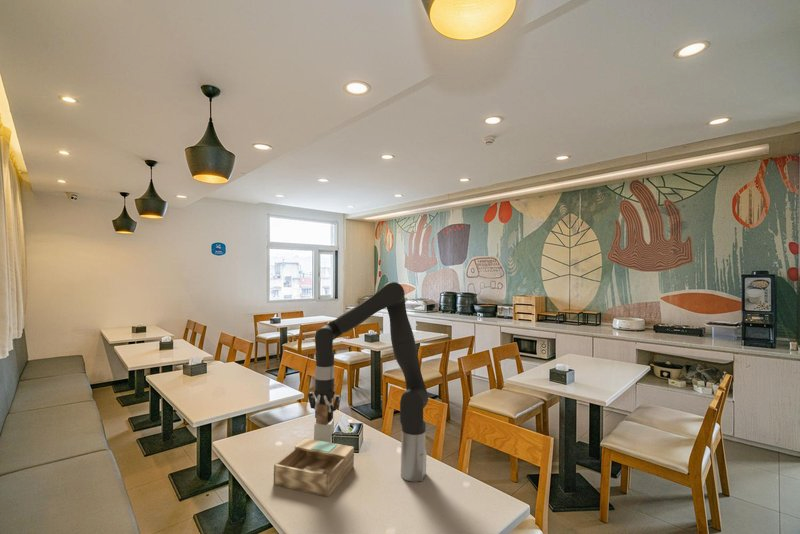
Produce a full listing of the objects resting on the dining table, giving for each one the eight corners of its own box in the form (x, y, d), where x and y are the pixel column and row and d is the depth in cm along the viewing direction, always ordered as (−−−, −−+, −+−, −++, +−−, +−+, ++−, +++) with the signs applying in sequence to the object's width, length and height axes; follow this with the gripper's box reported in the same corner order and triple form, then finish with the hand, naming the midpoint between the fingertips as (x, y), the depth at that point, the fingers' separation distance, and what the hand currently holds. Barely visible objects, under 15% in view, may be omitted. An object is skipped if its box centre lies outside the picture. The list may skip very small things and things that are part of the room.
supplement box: (330, 454, 152) (331, 424, 153) (312, 454, 153) (313, 424, 153) (333, 446, 160) (334, 417, 160) (317, 445, 160) (318, 417, 160)
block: (331, 420, 143) (332, 401, 143) (326, 425, 139) (326, 405, 139) (321, 419, 144) (322, 400, 145) (316, 423, 140) (316, 404, 140)
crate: (353, 466, 143) (354, 446, 143) (327, 497, 123) (328, 473, 123) (305, 457, 150) (306, 437, 150) (273, 484, 130) (274, 462, 130)
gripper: (345, 375, 144) (344, 418, 143) (313, 372, 148) (312, 414, 147) (337, 380, 137) (336, 426, 136) (303, 377, 141) (302, 421, 140)
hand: (323, 419), depth 142 cm, fingers closed on block, 4 cm apart
